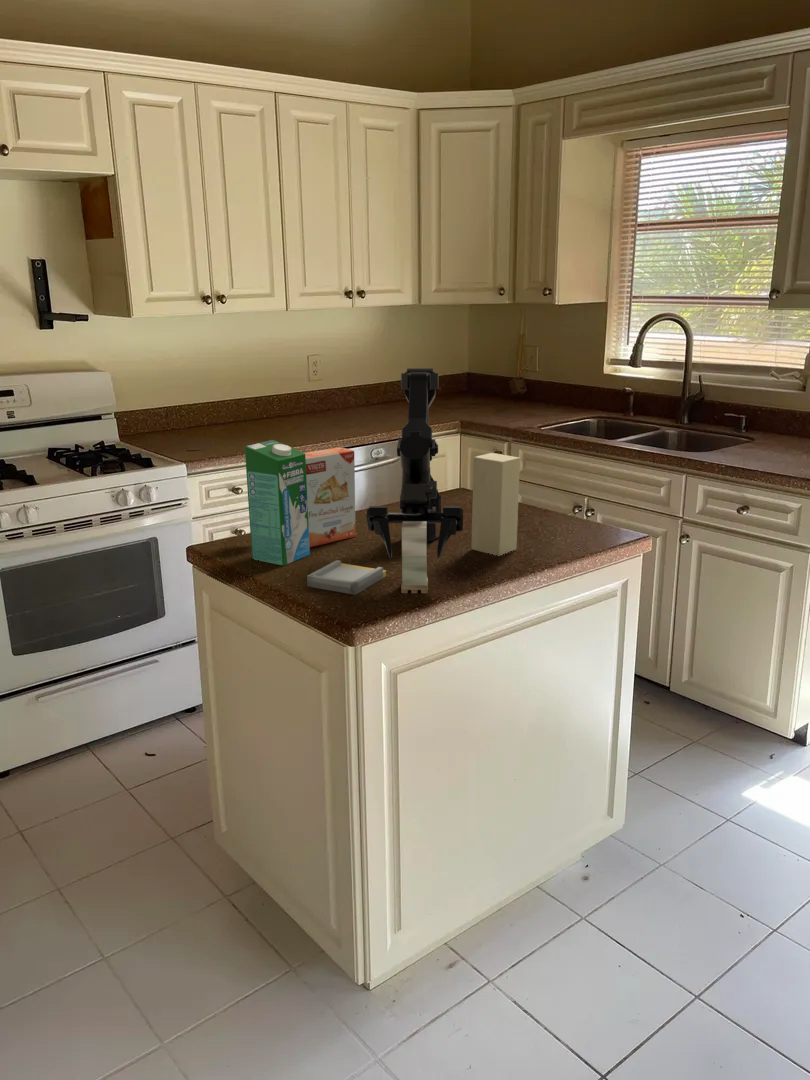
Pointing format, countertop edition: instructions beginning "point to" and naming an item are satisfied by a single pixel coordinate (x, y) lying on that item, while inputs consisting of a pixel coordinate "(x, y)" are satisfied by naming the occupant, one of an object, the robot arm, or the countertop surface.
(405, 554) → the pale banded rectangular block
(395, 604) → the countertop surface
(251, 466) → the milk carton
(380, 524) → the robot arm
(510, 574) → the countertop surface
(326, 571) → the pad
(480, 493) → the tall cream block
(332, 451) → the cracker box
